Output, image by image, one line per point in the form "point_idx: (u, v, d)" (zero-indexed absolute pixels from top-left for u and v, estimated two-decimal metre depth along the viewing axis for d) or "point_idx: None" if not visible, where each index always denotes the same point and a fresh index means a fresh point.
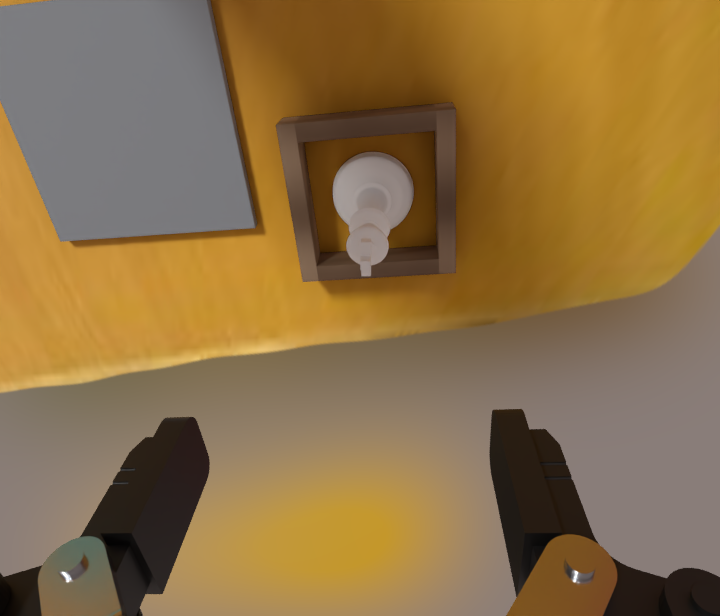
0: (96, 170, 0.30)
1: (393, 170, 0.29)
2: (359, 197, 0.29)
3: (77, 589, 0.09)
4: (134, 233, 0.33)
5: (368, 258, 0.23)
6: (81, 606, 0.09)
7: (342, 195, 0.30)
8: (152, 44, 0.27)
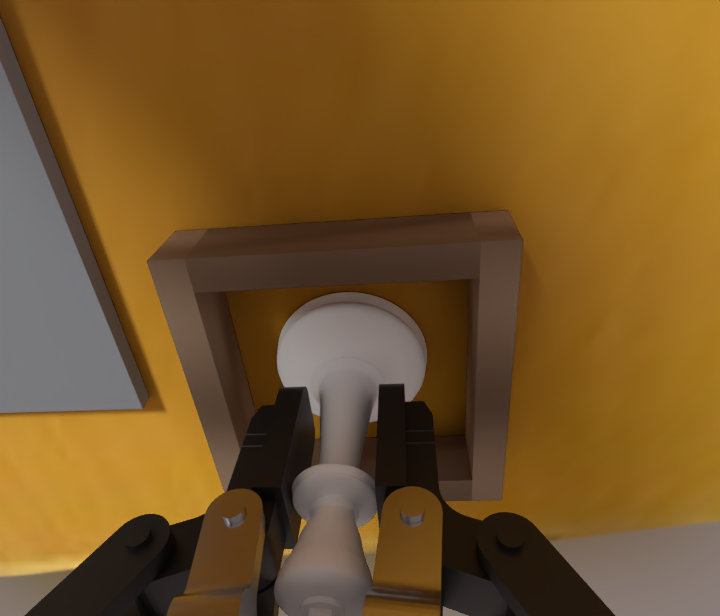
0: None
1: (389, 332, 0.15)
2: (323, 387, 0.15)
3: (228, 539, 0.10)
4: None
5: None
6: (254, 548, 0.10)
7: (293, 368, 0.16)
8: None
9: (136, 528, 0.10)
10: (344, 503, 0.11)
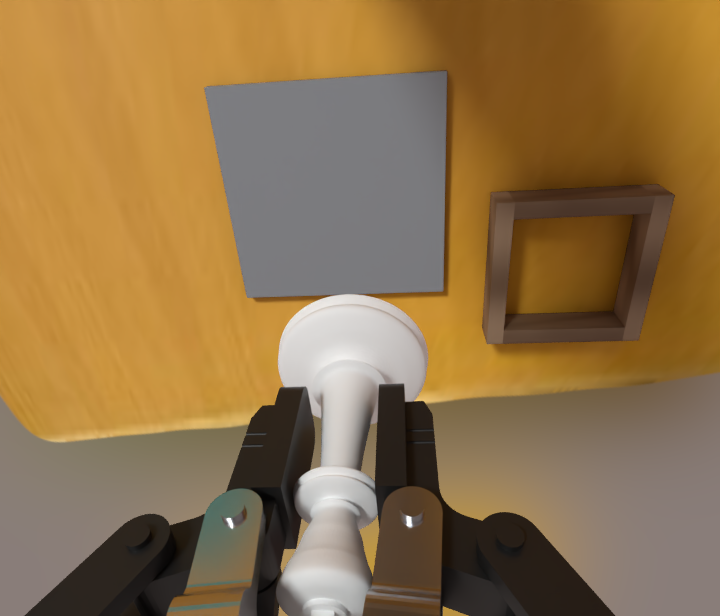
0: (299, 234, 0.32)
1: (390, 335, 0.15)
2: (324, 389, 0.15)
3: (229, 539, 0.10)
4: (322, 292, 0.34)
5: None
6: (254, 549, 0.10)
7: (294, 370, 0.16)
8: (384, 124, 0.28)
9: (136, 528, 0.10)
10: (346, 505, 0.11)
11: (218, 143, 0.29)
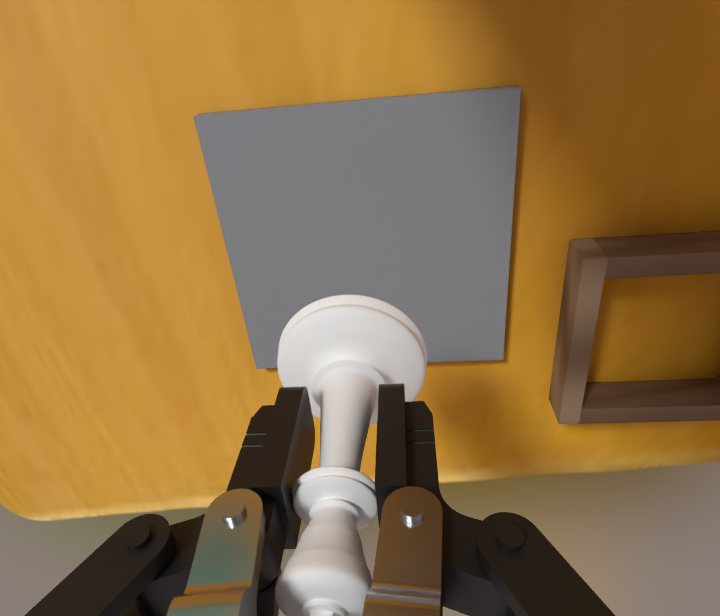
0: (321, 295, 0.25)
1: (389, 335, 0.15)
2: (323, 390, 0.15)
3: (229, 539, 0.10)
4: None
5: None
6: (254, 549, 0.10)
7: (293, 371, 0.16)
8: (433, 158, 0.21)
9: (135, 528, 0.10)
10: (344, 506, 0.11)
11: (215, 187, 0.22)
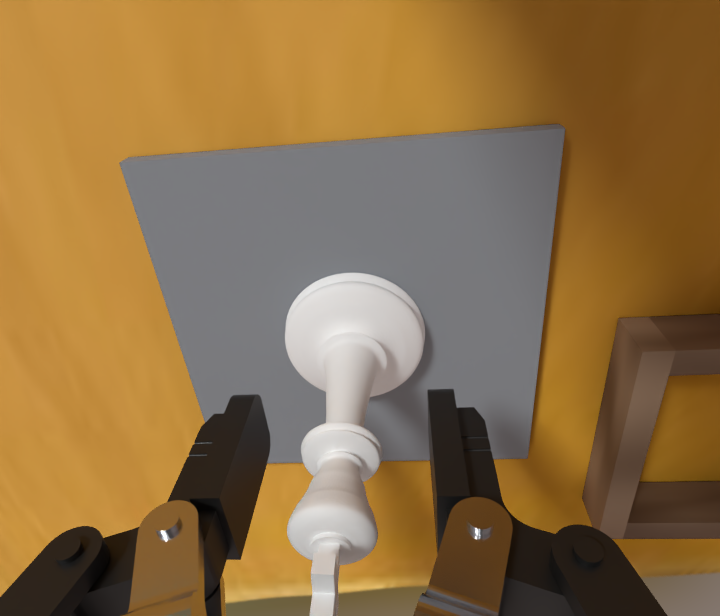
0: (297, 382, 0.19)
1: (390, 309, 0.16)
2: (328, 360, 0.16)
3: (167, 551, 0.10)
4: None
5: (329, 609, 0.10)
6: (184, 562, 0.10)
7: (300, 345, 0.17)
8: (442, 218, 0.16)
9: (65, 542, 0.10)
10: (349, 457, 0.13)
11: (153, 251, 0.17)
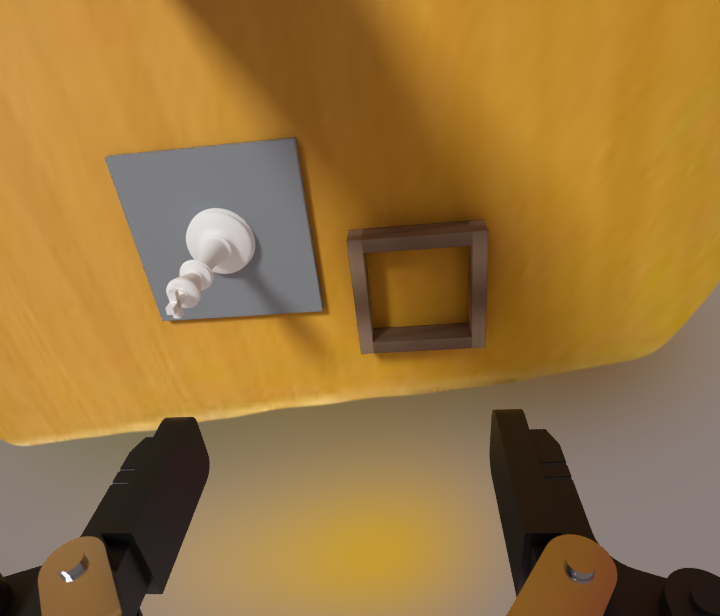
0: None
1: (231, 224, 0.35)
2: (201, 247, 0.35)
3: (78, 589, 0.09)
4: (223, 315, 0.40)
5: (173, 305, 0.28)
6: (81, 606, 0.09)
7: (192, 243, 0.36)
8: (251, 180, 0.34)
9: None
10: (196, 273, 0.31)
11: (121, 199, 0.36)
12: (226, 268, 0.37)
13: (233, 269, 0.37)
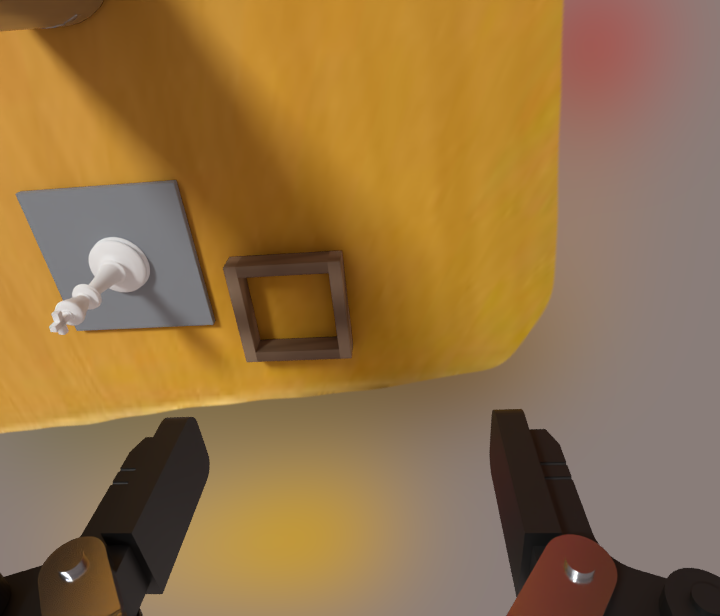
0: None
1: (125, 251, 0.41)
2: (99, 270, 0.41)
3: (78, 589, 0.09)
4: (129, 326, 0.46)
5: (56, 324, 0.35)
6: (81, 606, 0.09)
7: (93, 266, 0.42)
8: (141, 215, 0.41)
9: None
10: (85, 295, 0.37)
11: (32, 228, 0.42)
12: (124, 288, 0.43)
13: (131, 288, 0.43)
